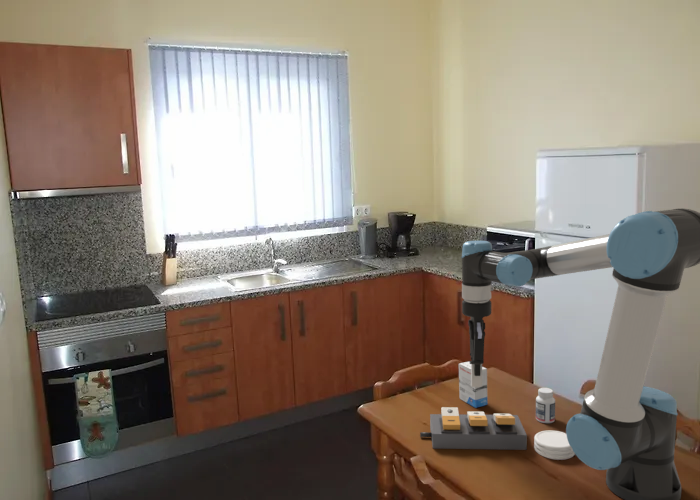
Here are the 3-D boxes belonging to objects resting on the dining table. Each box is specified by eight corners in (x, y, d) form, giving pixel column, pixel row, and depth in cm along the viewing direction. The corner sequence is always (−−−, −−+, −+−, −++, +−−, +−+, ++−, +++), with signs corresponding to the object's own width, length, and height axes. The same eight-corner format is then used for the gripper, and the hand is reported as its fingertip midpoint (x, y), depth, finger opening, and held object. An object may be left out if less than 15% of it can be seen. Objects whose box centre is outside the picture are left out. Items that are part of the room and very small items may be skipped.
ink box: (488, 405, 177) (488, 368, 176) (474, 408, 175) (474, 371, 174) (471, 395, 185) (471, 360, 183) (457, 398, 183) (457, 362, 181)
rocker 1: (460, 429, 152) (460, 424, 151) (443, 429, 152) (443, 424, 152) (457, 412, 158) (457, 407, 158) (441, 411, 159) (441, 407, 158)
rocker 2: (487, 426, 151) (487, 419, 151) (470, 425, 151) (470, 419, 151) (483, 417, 158) (483, 411, 158) (467, 417, 158) (467, 411, 158)
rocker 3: (515, 424, 150) (514, 417, 150) (497, 424, 150) (497, 417, 150) (510, 419, 157) (509, 413, 157) (493, 419, 157) (493, 413, 157)
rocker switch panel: (526, 449, 150) (526, 430, 149) (421, 448, 152) (420, 429, 151) (517, 428, 162) (517, 410, 161) (419, 427, 164) (419, 409, 163)
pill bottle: (552, 415, 169) (553, 386, 168) (556, 423, 164) (557, 393, 163) (533, 415, 170) (534, 386, 168) (537, 423, 164) (538, 393, 163)
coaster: (562, 440, 155) (562, 427, 154) (583, 458, 145) (583, 445, 145) (527, 444, 153) (527, 431, 153) (545, 462, 144) (545, 449, 143)
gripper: (495, 305, 146) (494, 395, 149) (487, 294, 158) (487, 376, 162) (465, 305, 146) (465, 395, 150) (459, 294, 159) (459, 376, 162)
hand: (476, 385), depth 156 cm, fingers closed
